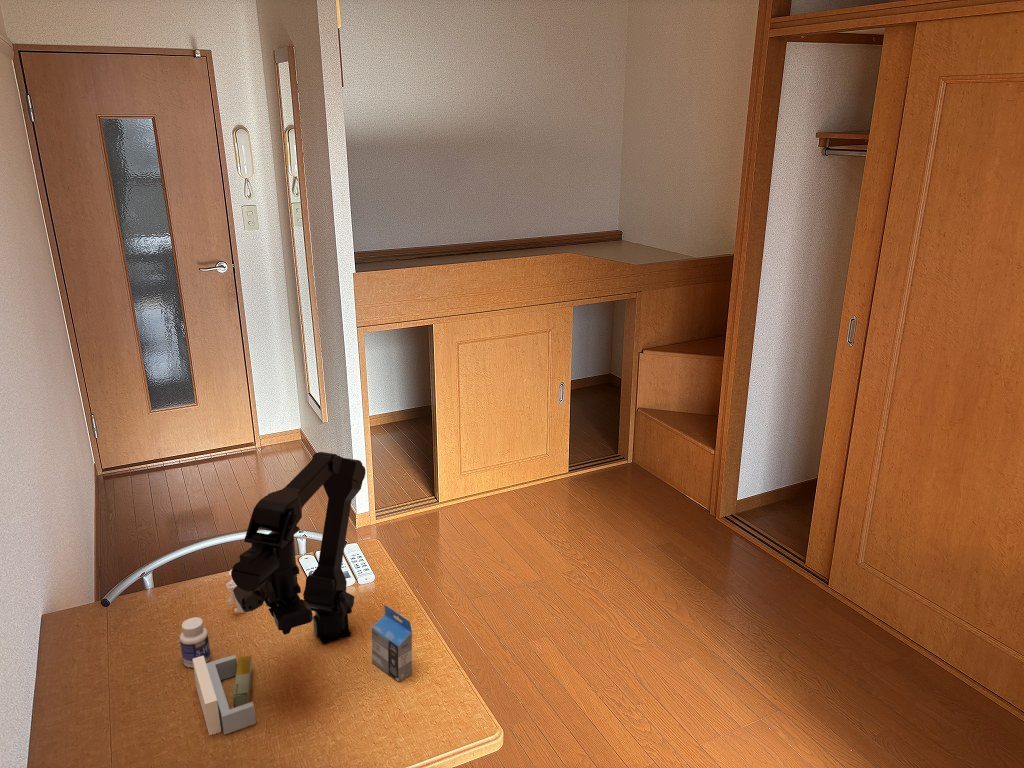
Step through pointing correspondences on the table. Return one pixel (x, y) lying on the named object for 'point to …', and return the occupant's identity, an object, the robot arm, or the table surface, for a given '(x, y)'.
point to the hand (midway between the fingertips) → (286, 633)
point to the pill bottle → (194, 641)
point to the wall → (206, 695)
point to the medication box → (243, 681)
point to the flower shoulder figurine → (233, 596)
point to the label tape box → (392, 645)
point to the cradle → (228, 717)
